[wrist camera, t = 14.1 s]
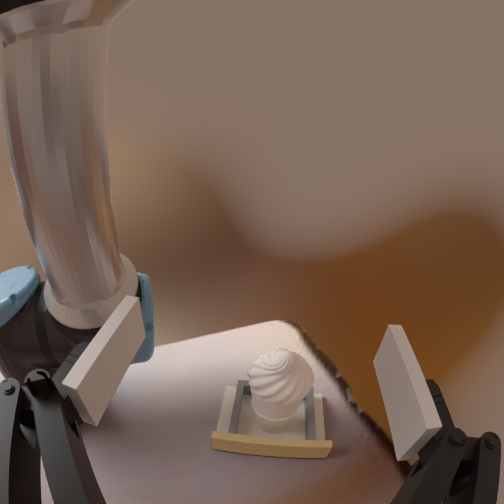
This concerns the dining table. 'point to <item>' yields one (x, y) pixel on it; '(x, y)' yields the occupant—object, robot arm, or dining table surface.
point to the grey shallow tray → (261, 443)
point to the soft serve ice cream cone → (278, 387)
